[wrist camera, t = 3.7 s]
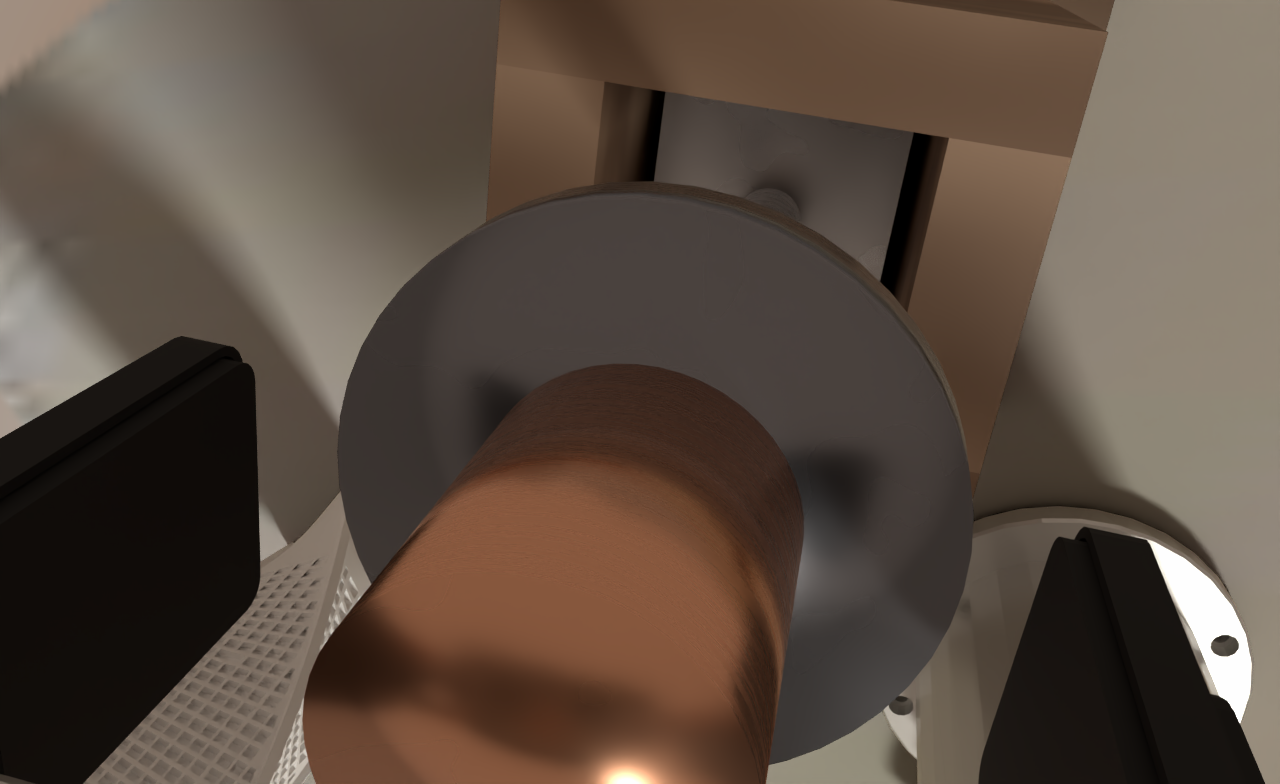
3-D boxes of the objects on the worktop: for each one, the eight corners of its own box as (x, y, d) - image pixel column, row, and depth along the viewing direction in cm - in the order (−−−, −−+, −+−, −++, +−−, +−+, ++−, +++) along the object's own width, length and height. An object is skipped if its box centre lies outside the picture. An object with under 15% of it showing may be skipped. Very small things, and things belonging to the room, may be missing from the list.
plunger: (895, 381, 25) (885, 1193, 9) (605, 323, 26) (137, 965, 10) (969, 74, 22) (1150, 473, 6) (640, 23, 24) (64, 252, 7)
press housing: (987, 407, 36) (1042, 712, 22) (554, 322, 38) (357, 550, 24) (1139, -122, 29) (1352, -160, 16) (603, -189, 32) (371, -276, 18)
